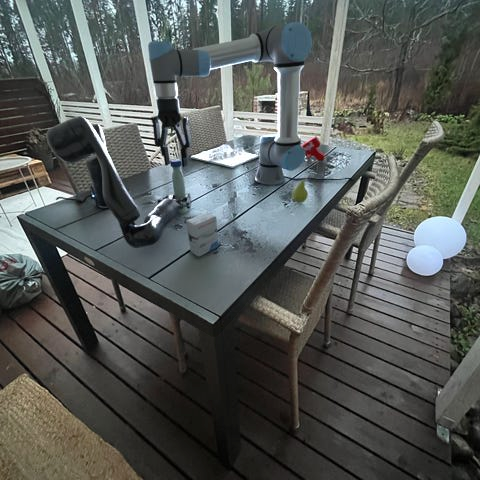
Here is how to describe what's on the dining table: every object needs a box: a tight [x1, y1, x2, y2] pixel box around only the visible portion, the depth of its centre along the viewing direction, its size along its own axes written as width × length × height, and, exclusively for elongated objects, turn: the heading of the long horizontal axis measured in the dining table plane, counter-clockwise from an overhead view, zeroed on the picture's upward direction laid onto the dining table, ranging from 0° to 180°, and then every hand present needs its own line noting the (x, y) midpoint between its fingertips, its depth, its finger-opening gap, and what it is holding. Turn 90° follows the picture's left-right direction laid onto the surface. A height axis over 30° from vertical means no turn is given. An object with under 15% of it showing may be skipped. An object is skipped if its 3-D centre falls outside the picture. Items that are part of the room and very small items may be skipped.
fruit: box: [291, 174, 311, 204], centre depth 118 cm, size 7×8×12 cm
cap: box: [169, 158, 182, 168], centre depth 104 cm, size 4×4×2 cm
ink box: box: [185, 211, 219, 258], centre depth 87 cm, size 8×5×12 cm, turn 134°
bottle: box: [171, 166, 189, 215], centre depth 109 cm, size 5×5×21 cm
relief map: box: [190, 143, 259, 169], centre depth 179 cm, size 27×35×5 cm
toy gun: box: [301, 135, 326, 164], centre depth 171 cm, size 18×4×15 cm
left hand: (182, 194), depth 113 cm, fingers closed on bottle, 4 cm apart
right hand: (176, 165), depth 104 cm, fingers open, 6 cm apart
